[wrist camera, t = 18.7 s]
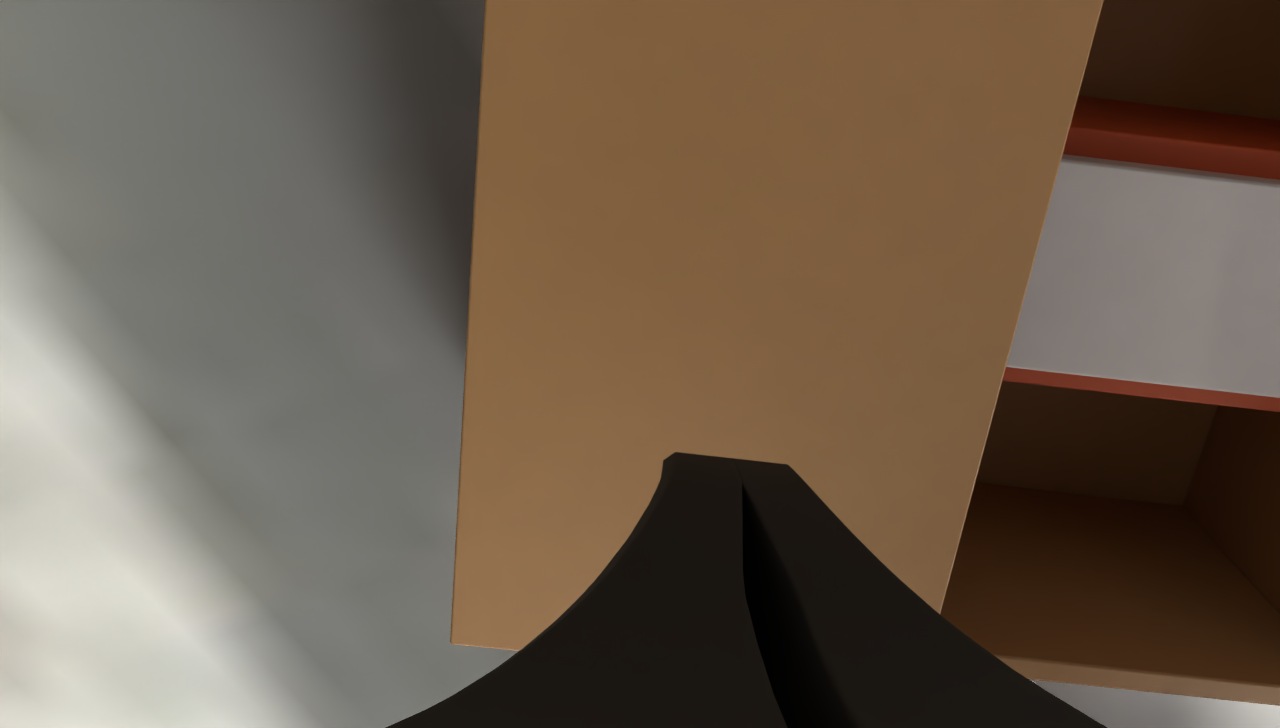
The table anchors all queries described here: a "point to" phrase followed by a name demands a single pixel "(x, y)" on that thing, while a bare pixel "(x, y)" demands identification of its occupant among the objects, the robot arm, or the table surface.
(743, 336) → the box flap
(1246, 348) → the block
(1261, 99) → the box
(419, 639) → the table surface
